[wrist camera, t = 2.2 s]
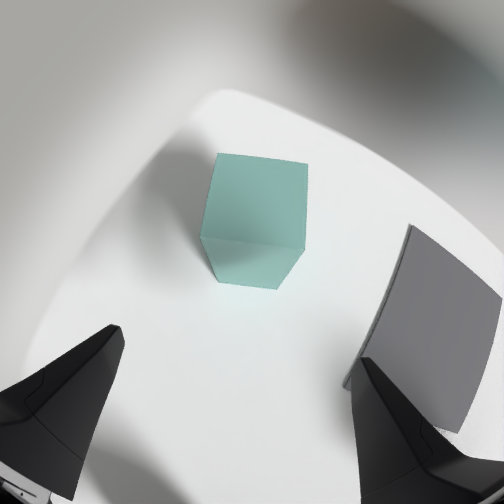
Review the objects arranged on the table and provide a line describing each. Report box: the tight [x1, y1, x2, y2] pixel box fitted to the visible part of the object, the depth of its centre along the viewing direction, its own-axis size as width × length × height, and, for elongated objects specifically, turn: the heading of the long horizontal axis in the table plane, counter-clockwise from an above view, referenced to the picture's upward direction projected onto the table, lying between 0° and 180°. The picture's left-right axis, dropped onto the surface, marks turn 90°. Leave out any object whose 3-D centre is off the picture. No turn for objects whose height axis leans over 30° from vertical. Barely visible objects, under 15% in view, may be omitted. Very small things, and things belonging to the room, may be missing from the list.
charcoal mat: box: [344, 225, 502, 434], centre depth 22 cm, size 18×18×1 cm
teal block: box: [199, 153, 308, 290], centre depth 19 cm, size 5×5×11 cm
